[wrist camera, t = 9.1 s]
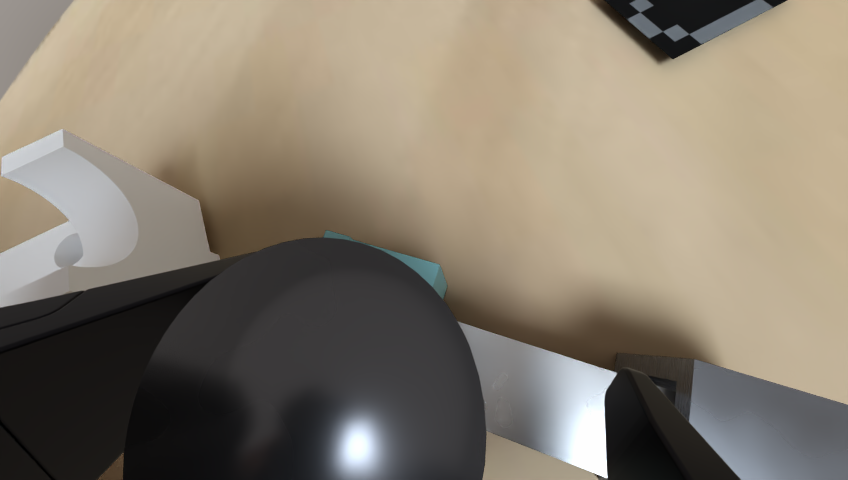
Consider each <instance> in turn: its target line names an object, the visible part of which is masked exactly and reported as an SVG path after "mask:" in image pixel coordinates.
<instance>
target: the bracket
mask: <svg viewBox="0 0 848 480" xmlns="http://www.w3.org/2000/svg"><path fill="white" fill-rule="evenodd" d="M1 176H3V177H5V178H8V179H10V180H13V181H15V182H17V183H19V184H21V185H23V186H25V187H27V188H29V189H31V190H33V191H34V192H36V193H38V194H39V195H41V196H42V197H44V198H45V199H47V200H48V201H49V202H51V203H52V204H53V205H54V206H55V207H57V208H58V209H59V210H60V211H61V212H62V213H63V214H64V215H65V216H66V217H67V219H68V220H69V221H68V222H65V223H63V224H61V225H59V226H57V227H55V228H53V229H51V230H49V231H46V232H44V233H42V234H40V235H38V236H36V237H34V238H32V239H29V240H27V241H25V242H23V243H21V244H19V245H17V246H15V247H13V248H10V249H8V250H6V251H4V252H2V253H0V307H6V306H11V305H16V304H21V303H26V302H31V301H35V300H40V299H45V298H50V297H54V296H59V295H64V294H68V293H73V292H77V291H82V290H84V291H86V290H87V289H91V288H95V287H100V286H104V285H109V284H113V283H118V282H122V281H127V280H131V279H136V278H140V277H145V276H149V275H154V274H158V273H163V272H167V271H172V270H176V269H181V268H185V267H190V266H194V265H199V264H203V263H208V262H212V261H217V260H220V257H219V255H218V254H215V253H212V252H210V249H209V245H208V240H207V236H206V231H205V226H204V222H203V217H202V213H201V208H200V203H199V200H197V199H195V198H194V197H192V196H190V195H188V194H186V193H184V192H182V191H180V190H178V189H176V188H175V187H173V186H171V185H169V184H167V183H165V182H163V181H161V180H159V179H157V178H156V177H154V176H152V175H150V174H148V173H146V172H144V171H142V170H140V169H138V168H136V167H135V166H133V165H131V164H129V163H127V162H125V161H123V160H121V159H119V158H117V157H116V156H114V155H112V154H110V153H108V152H106V151H104V150H102V149H100V148H98V147H97V146H95V145H93V144H91V143H89V142H87V141H85V140H83V139H81V138H79V137H78V136H76V135H74V134H72V133H70V132H68V131H66V130H64V129H61V130H59V131H57V132H55V133H52V134H50V135H48V136H46V137H44V138H42V139H40V140H37V141H35V142H33V143H31V144H29V145H27V146H25V147H22V148H20V149H18V150H16V151H14V152H12V153H10V154H8V155H5V156H3V157H2V166H1Z"/></svg>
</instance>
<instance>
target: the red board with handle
mask: <svg viewBox="0 0 848 480" xmlns="http://www.w3.org/2000/svg"><path fill="white" fill-rule="evenodd" d="M605 1H606V2H607V3H608V4H610V5H611V6H612V7H613V8H614V9H615V10H617V11H618V12H619V13H620V14H621V15H622V16H623V17H625V18H626V19H627V20H628V21H629V22H630V23H632V24H633V25H634V26H635V27H636V28H637V29H638V30H640V31H641V32H642V33H643V34H644V35H645V36H647V37H648V38H649V39H650V40H651V41H652V42H653V43H655V44H656V45H657V46H658V47H659V48H660V49H662V50H663V51H664V52H665V53H666V54H667V55H668V56H670V57H671V58H672V59H675V58H676V57H678V56H680V55H682V54H684V53H686V52H688V51H690V50H692V49H694V48H696V47H698V46H700V45H702V44H704V43H705V42H707V41H709V40H711V39H713V38H715V37H717V36H719V35H721V34H723V33H725V32H727V31H729V30H731V29H733V28H735V27H736V26H738V25H740V24H742V23H744V22H746V21H748V20H750V19H752V18H754V17H756V16H758V15H760V14H762V13H764V12H766V11H767V10H769V9H771V8H773V7H775V6H777V5H779V4H781V3H783V2H785V1H787V0H605Z"/></svg>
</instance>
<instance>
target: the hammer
mask: <svg viewBox="0 0 848 480" xmlns="http://www.w3.org/2000/svg"><path fill="white" fill-rule="evenodd" d="M616 375H617V373H616V372H613V371H610V370H607V369H603V368H600V367H597V366H594V365H591V364H588V363H585V362H582V361H579V360H575V359H572V358H569V357H566V356H563V355H560V354H557V353H554V352H551V351H548V350H544V349H541V348H538V347H535V346H532V345H529V344H526V343H523V342H520V341H516V340H513V339H510V338H507V337H504V336H501V335H498V334H495V333H492V332H489V331H485V330H482V329H479V328H476V327H473V326H470V325H467V324H464V323H461V322H458V321H457V320H456V318H455V317H454V315H453V314H452V312H451V310H450V309H449V307H448V305H447V304H446V303H445V302H444V301H443V299H442V298H441V297H440V296H439V294H438V293H437V292H436V291H435V289H434V288H433V287H432V286H431V285H430V284H429V283H428V282H427V281H426V280H425V279H423V278H422V277H421V276H420V275H419V274H418V273H417V272H416V271H415V270H413V269H412V268H410V267H409V266H408V265H406V264H405V263H403V262H402V261H401V260H399V259H397V258H395V257H393V256H392V255H390V254H388V253H386V252H384V251H382V250H380V249H377V248H374V247H372V246H369V245H366V244H363V243H359V242H355V241H350V240H345V239H337V238H305V239H299V240H293V241H288V242H283V243H280V244H277V245H274V246H270V247H267V248H264V249H262V250H260V251H258V252H256V253H253V254H251V255H249V256H247V257H245V258H243V259H241V260H240V261H238V262H236V263H235V264H233V265H231V266H230V267H228V268H227V269H225V270H224V271H223V272H221V273H220V274H219V275H217V276H216V277H215V278H213V279H212V280H211V281H210V282H209V283H208V284H206V285H205V286H204V287H203V288H202V289H201V290H200V291H199V292H198V293H197V294H196V295H195V296H194V297H193V298H192V299H191V300H190V301H189V302H188V304H187V305H186V306H185V307H184V308H183V309H182V310H181V312H180V313H179V314H178V315H177V317H176V318H175V320H174V321H173V322H172V324H171V325H170V326H169V328H168V329H167V331H166V332H165V334H164V335H163V337H162V339H161V341H160V342H159V344H158V346H157V347H156V349H155V351H154V353H153V355H152V357H151V359H150V361H149V363H148V365H147V368H146V370H145V372H144V374H143V376H142V379H141V382H140V385H139V388H138V391H137V394H136V396H135V399H134V403H133V407H132V411H131V415H130V419H129V423H128V428H127V435H126V442H125V449H124V464H123V480H482V478H483V472H484V466H485V450H486V431H488V432H491V433H493V434H496V435H498V436H501V437H504V438H506V439H509V440H511V441H514V442H516V443H519V444H521V445H524V446H527V447H529V448H532V449H534V450H537V451H539V452H542V453H544V454H547V455H550V456H552V457H555V458H557V459H560V460H562V461H565V462H567V463H570V464H573V465H575V466H578V467H580V468H583V469H585V470H588V471H590V472H593V473H596V474H598V475H601V476H603V477H606V478H607V466H606V438H605V404H604V399H605V393H606V390H607V388H608V387H609V385H610V384H611V382H612V381H613V379H614V378H615V376H616ZM657 387H658V388H659V389H660V390H661V391H662V393H663V394H664V395H665V396H666V397H667V398H668V399H669V400H670V401H671V403H672V404H673V405H674V406H675V396H676V392H675V391H672V390H669V389H666V388H662V387H659V386H657Z"/></svg>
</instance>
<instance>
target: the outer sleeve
mask: <svg viewBox="0 0 848 480" xmlns="http://www.w3.org/2000/svg"><path fill="white" fill-rule="evenodd" d="M623 367H627V368H630V369H634V370H637V371H640V372H643V373H644V374H646V375H647V376H648V377H649V378H650V379H651V380H652V381H653V383H654V384H655V385H656V386H659V387H662V388H666V389H669V390H672V391H675V392H676V396H675V407H676V408H677V409H678V410H679V411H680V412H681V414H682V415H683V416H684V417H685V418H686V419H687V420H688V421H689V422H690V424H691V425H692V426H693V427H694V428H695V429H696V430H697V431H698V432H699V434H700V435H701V436H702V437H703V438H704V439H705V440H706V441H707V442H708V444H709V445H710V446H711V447H712V448H713V449H714V450H715V451H716V452H717V453H718V455H719V456H720V457H721V458H722V459H723V460H724V461H725V462H726V463H727V465H728V466H729V467H730V468H731V469H732V470H733V471H734V472H735V473H736V475H737V476H738V477H739V478H740V479H741V480H848V405H846V404H843V403H840V402H836V401H833V400H830V399H826V398H823V397H820V396H816V395H813V394H810V393H806V392H803V391H800V390H796V389H793V388H789V387H786V386H783V385H779V384H776V383H773V382H769V381H766V380H763V379H759V378H756V377H753V376H749V375H746V374H743V373H739V372H736V371H733V370H729V369H726V368H723V367H719V366H716V365H712V364H709V363H706V362H702V361H699V360H696V359H686V358H674V357H661V356H649V355H636V354H624V353H617V357H616V363H615V370H614V372H616V373H618V371H619V370H620V369H621V368H623ZM598 479H599V480H608V478H606V477H603V476H601V475H599V478H598Z"/></svg>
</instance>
